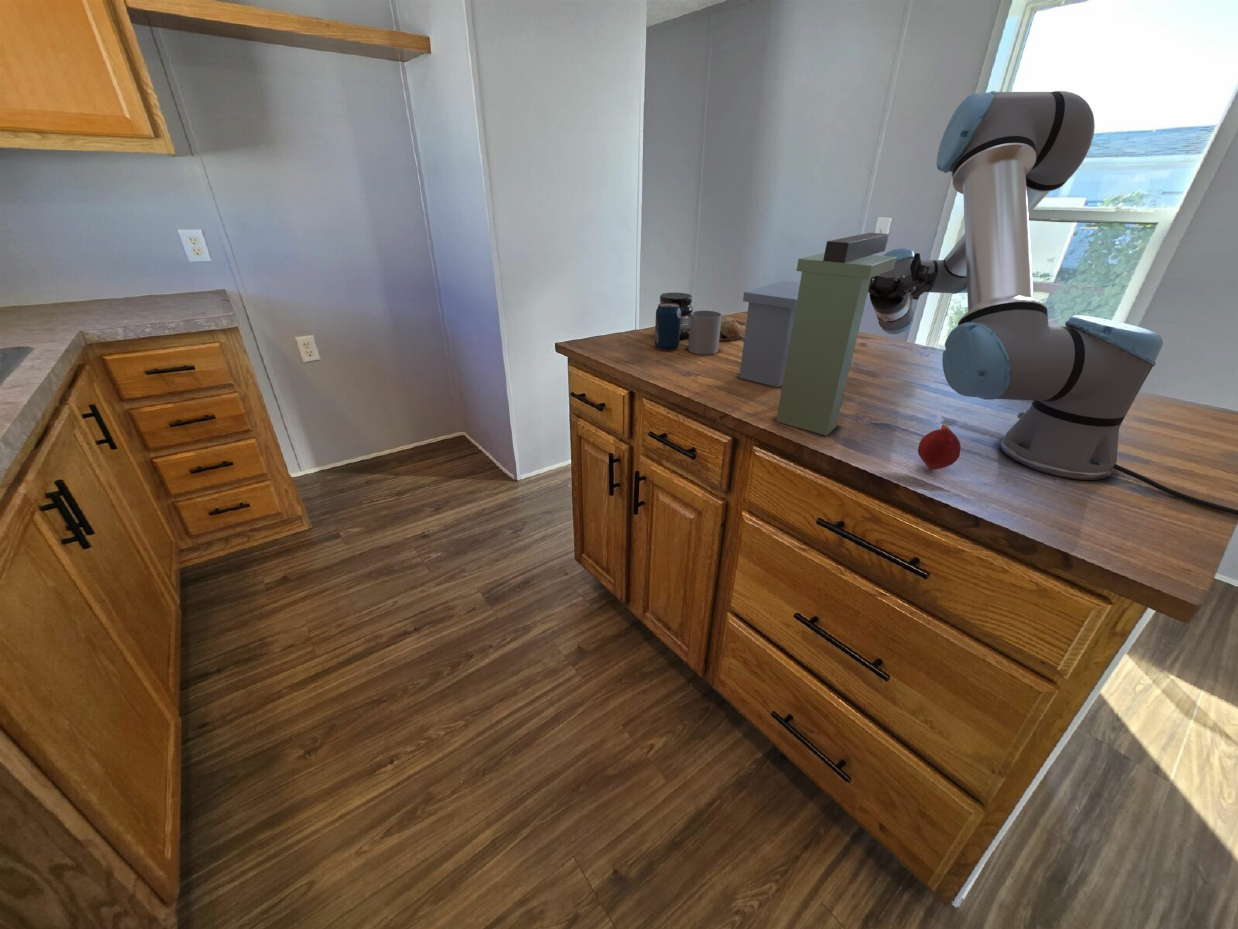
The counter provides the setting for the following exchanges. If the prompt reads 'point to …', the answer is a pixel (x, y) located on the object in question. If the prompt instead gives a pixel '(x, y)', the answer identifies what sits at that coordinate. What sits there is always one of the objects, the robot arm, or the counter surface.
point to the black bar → (855, 247)
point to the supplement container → (685, 307)
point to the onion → (939, 448)
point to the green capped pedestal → (825, 338)
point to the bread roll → (729, 329)
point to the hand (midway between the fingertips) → (877, 256)
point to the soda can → (667, 326)
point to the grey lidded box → (768, 332)
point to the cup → (704, 332)
